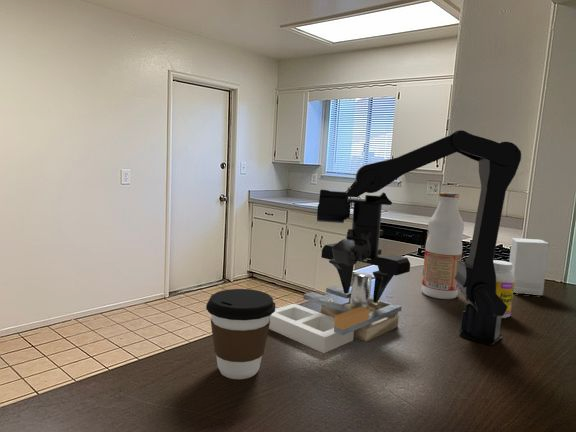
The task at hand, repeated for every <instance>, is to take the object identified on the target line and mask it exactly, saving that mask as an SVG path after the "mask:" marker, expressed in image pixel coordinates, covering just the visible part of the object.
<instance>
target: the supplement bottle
mask: <svg viewBox="0 0 576 432" xmlns="http://www.w3.org/2000/svg"><path fill="white" fill-rule="evenodd" d="M493 262H494V267H495V273H496V294H497V295H498V297H499V298H500V299H501V300H502V301H503V302H504V303H505V304H506V305H507V310H506V311H505V313H504V315H503V316H502V317H501V319H507V317H508V318H510V316H511V313H512V306H513V300H514V299H513V298H514V294H513V293H514V285H515V277H514V275H512V274H511V273H510V272H511V269H512V263H510V262H509V261H505V260H497V259H493Z"/></svg>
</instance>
